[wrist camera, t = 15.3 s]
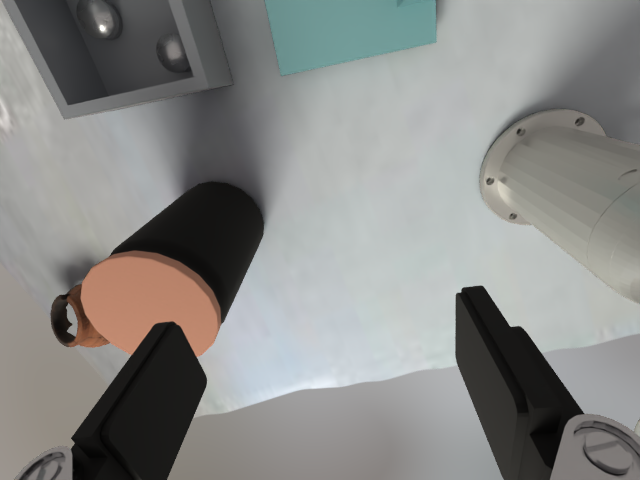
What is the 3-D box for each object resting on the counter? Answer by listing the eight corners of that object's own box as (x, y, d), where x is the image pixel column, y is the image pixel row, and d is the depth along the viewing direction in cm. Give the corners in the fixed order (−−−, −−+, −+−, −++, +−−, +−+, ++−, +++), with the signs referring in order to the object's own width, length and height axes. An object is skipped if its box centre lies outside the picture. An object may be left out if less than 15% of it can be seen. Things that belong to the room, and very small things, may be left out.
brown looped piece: (111, 335, 52) (52, 356, 45) (101, 278, 52) (40, 289, 45) (162, 334, 47) (105, 357, 40) (151, 270, 47) (91, 281, 40)
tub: (194, -52, 28) (154, -87, 22) (233, 84, 33) (209, 87, 27) (56, -13, 30) (-17, -35, 24) (112, 110, 35) (64, 119, 29)
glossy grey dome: (113, -5, 29) (101, -9, 28) (128, 35, 31) (118, 34, 29) (82, 3, 30) (69, 0, 28) (99, 43, 31) (88, 42, 30)
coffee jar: (165, 194, 39) (48, 279, 24) (242, 165, 37) (169, 236, 21) (209, 264, 44) (135, 374, 28) (279, 242, 42) (242, 348, 26)
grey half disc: (189, 31, 30) (182, 29, 29) (201, 68, 32) (195, 68, 30) (159, 38, 31) (150, 37, 29) (172, 75, 32) (164, 76, 31)
